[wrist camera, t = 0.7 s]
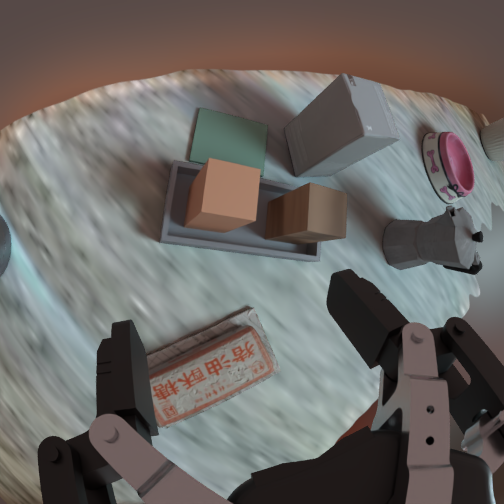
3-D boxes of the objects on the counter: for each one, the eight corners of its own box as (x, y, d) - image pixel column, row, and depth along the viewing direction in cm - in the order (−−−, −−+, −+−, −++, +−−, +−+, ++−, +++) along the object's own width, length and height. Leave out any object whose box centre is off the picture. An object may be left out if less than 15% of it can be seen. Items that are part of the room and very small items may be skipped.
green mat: (189, 161, 34) (189, 160, 34) (199, 109, 35) (200, 107, 35) (261, 176, 38) (263, 175, 37) (266, 126, 39) (267, 125, 38)
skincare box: (328, 177, 42) (406, 144, 28) (289, 178, 40) (366, 138, 25) (316, 128, 42) (385, 83, 28) (278, 125, 39) (343, 69, 25)
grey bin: (159, 242, 32) (161, 240, 30) (170, 168, 33) (174, 160, 31) (307, 261, 40) (319, 261, 37) (311, 198, 41) (323, 194, 38)
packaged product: (166, 443, 27) (122, 377, 26) (161, 424, 31) (124, 363, 30) (294, 378, 33) (267, 310, 32) (276, 367, 38) (251, 305, 37)
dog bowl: (419, 179, 53) (443, 172, 46) (421, 119, 56) (441, 110, 50) (455, 216, 59) (477, 213, 53) (456, 159, 62) (475, 154, 56)
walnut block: (264, 239, 37) (307, 230, 28) (267, 202, 38) (309, 182, 28) (297, 244, 39) (345, 238, 30) (300, 209, 39) (346, 193, 30)
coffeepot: (368, 240, 45) (462, 229, 28) (387, 201, 47) (471, 181, 31) (409, 293, 49) (490, 296, 32) (425, 254, 51) (499, 250, 35)
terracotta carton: (183, 227, 33) (201, 211, 24) (189, 187, 34) (209, 157, 24) (223, 233, 35) (255, 220, 26) (228, 194, 35) (260, 169, 26)
